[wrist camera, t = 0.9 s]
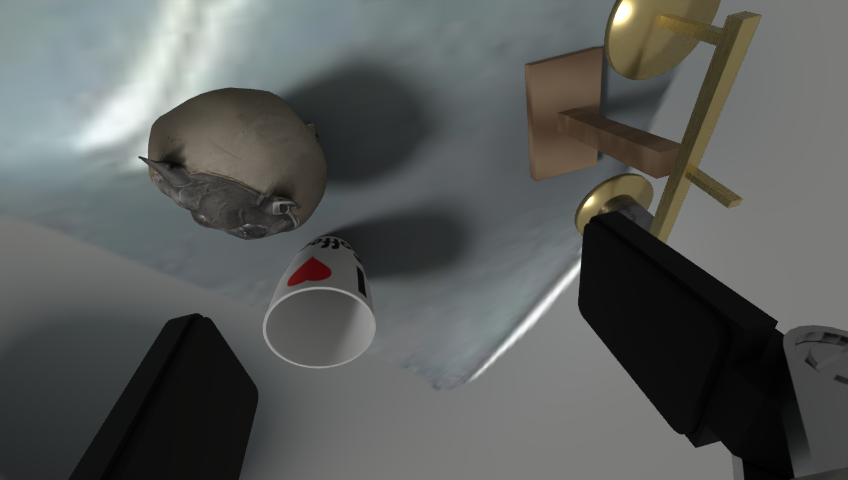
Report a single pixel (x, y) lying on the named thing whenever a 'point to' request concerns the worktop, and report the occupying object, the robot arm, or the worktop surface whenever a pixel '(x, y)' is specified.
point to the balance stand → (582, 121)
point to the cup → (321, 307)
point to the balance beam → (656, 54)
